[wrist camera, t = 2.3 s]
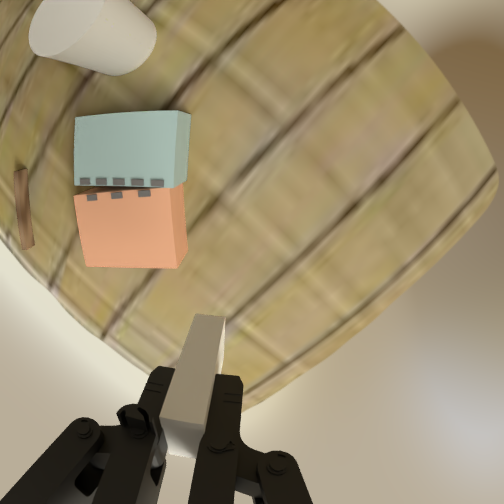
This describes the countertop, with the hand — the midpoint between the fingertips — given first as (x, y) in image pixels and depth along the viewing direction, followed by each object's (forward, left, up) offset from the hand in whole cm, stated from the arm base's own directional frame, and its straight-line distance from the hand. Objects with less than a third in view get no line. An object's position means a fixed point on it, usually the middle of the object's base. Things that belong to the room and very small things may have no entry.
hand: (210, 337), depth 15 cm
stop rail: (-1, -30, -18) cm, 35 cm away
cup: (-21, -15, -19) cm, 32 cm away
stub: (0, -11, -19) cm, 22 cm away
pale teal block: (-8, -11, -18) cm, 23 cm away
